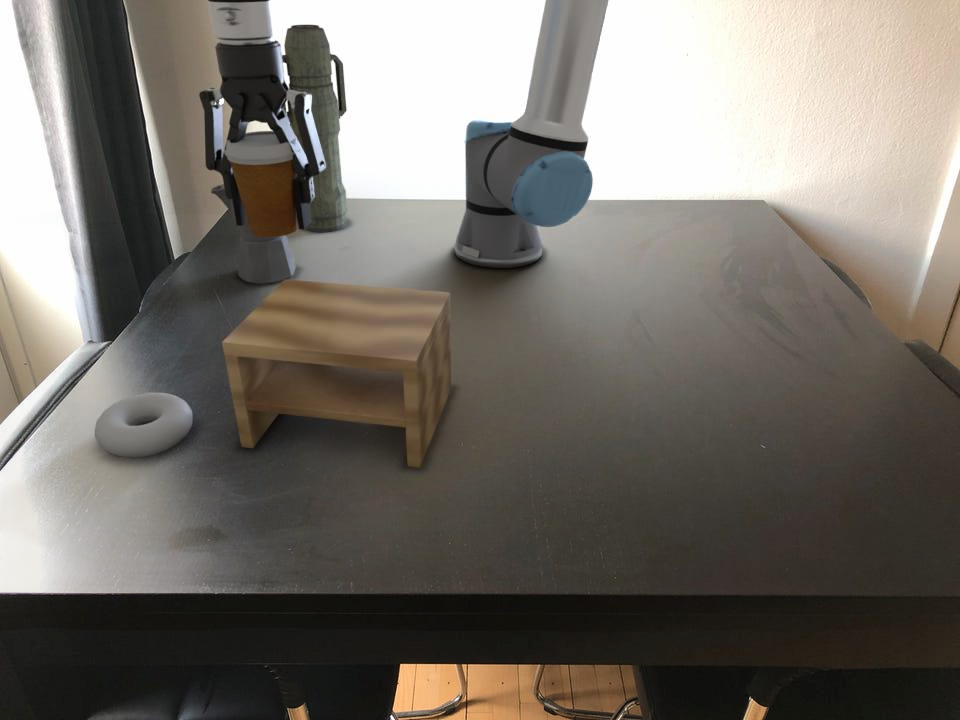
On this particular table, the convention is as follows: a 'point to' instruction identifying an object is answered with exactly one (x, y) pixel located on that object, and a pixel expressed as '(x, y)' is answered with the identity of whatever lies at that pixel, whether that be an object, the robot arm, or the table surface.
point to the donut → (131, 440)
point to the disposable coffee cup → (265, 182)
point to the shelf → (343, 359)
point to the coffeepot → (260, 252)
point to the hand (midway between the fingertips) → (274, 223)
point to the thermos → (319, 118)
